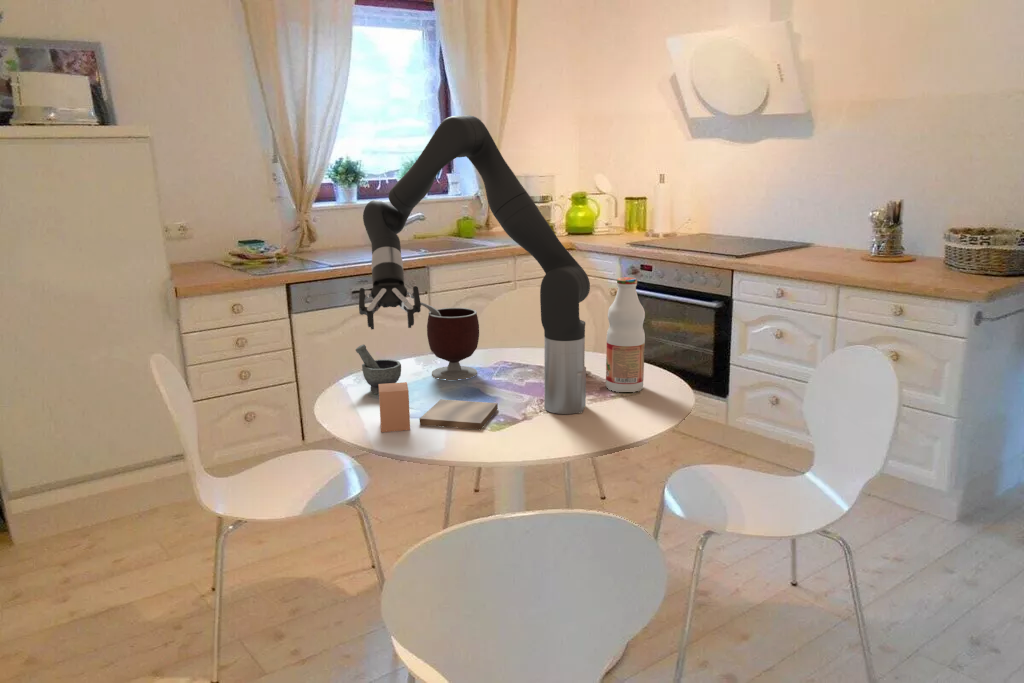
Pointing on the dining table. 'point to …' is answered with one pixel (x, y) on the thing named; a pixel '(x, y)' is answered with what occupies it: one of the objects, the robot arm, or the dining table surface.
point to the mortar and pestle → (378, 370)
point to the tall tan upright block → (394, 407)
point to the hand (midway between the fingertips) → (391, 326)
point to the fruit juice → (625, 339)
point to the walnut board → (459, 414)
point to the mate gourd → (452, 339)
